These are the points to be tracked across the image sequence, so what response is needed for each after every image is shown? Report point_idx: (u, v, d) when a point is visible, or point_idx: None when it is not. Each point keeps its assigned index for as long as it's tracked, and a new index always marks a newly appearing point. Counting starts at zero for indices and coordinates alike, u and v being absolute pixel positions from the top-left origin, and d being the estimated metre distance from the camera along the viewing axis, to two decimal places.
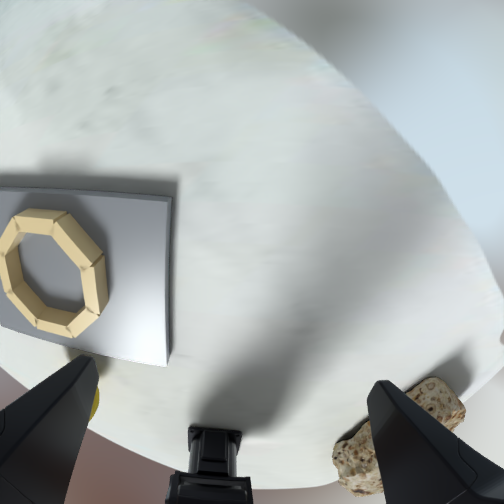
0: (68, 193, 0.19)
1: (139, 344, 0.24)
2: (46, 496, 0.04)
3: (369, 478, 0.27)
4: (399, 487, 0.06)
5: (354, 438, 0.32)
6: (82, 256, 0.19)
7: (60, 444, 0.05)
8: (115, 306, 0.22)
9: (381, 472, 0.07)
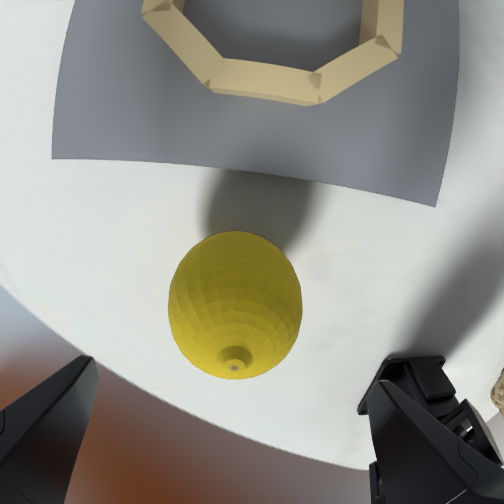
0: None
1: (410, 154, 0.13)
2: (46, 496, 0.04)
3: None
4: (399, 487, 0.06)
5: None
6: None
7: (60, 444, 0.05)
8: (390, 73, 0.11)
9: (381, 472, 0.07)
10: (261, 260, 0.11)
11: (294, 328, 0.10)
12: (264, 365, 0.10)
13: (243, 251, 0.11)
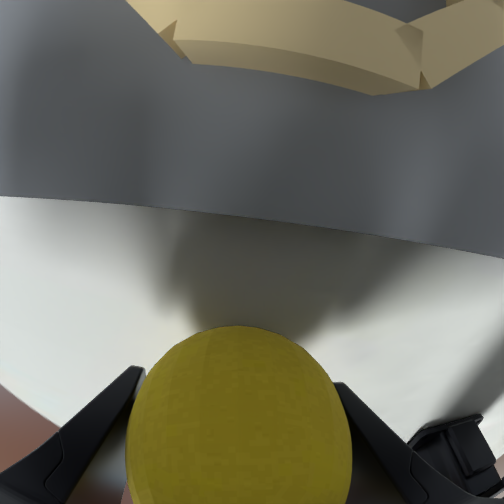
0: None
1: None
2: None
3: None
4: (349, 498, 0.06)
5: None
6: None
7: (117, 462, 0.05)
8: (489, 57, 0.05)
9: None
10: (291, 431, 0.04)
11: None
12: None
13: (255, 413, 0.05)
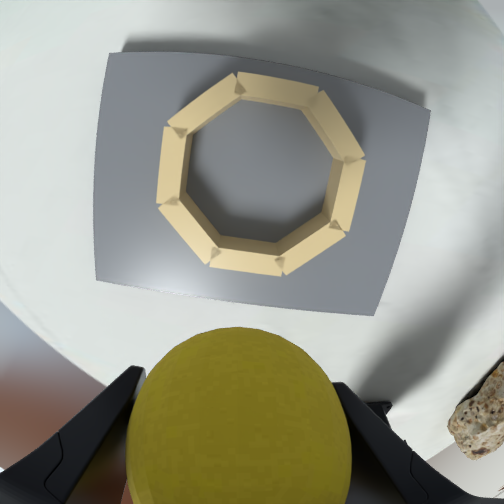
0: None
1: (354, 285, 0.20)
2: None
3: (499, 430, 0.22)
4: (349, 498, 0.06)
5: (480, 393, 0.27)
6: (352, 143, 0.14)
7: (117, 462, 0.05)
8: None
9: None
10: (291, 432, 0.04)
11: None
12: None
13: (254, 415, 0.05)
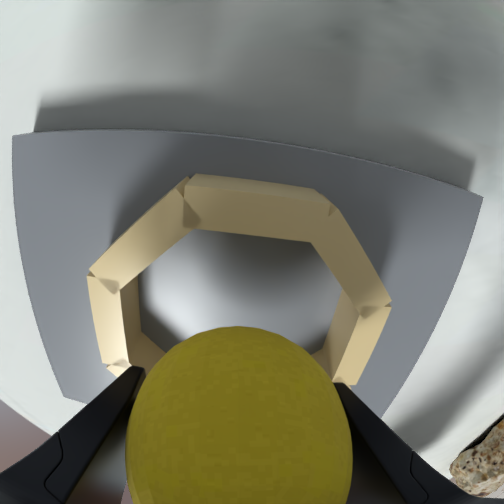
0: (320, 151, 0.10)
1: None
2: None
3: (499, 479, 0.18)
4: (349, 498, 0.06)
5: (484, 444, 0.22)
6: (376, 287, 0.09)
7: (117, 462, 0.05)
8: None
9: None
10: (292, 431, 0.04)
11: None
12: None
13: (255, 414, 0.05)
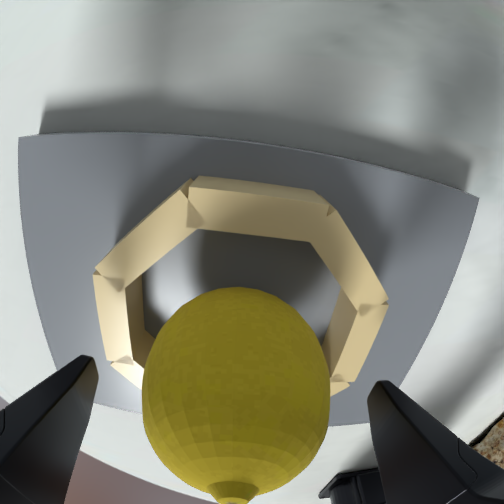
0: (319, 154, 0.10)
1: (356, 403, 0.15)
2: (46, 496, 0.04)
3: None
4: (399, 487, 0.06)
5: (484, 443, 0.22)
6: (373, 286, 0.10)
7: (60, 444, 0.05)
8: None
9: (381, 472, 0.07)
10: (276, 352, 0.06)
11: (320, 442, 0.06)
12: (274, 488, 0.06)
13: (248, 337, 0.07)
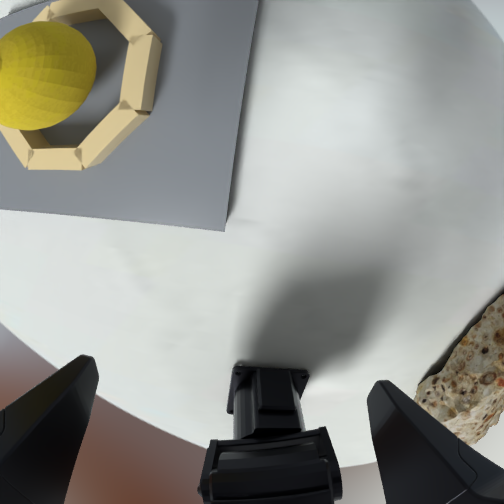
0: None
1: (186, 188, 0.16)
2: (46, 496, 0.04)
3: (474, 417, 0.19)
4: (399, 487, 0.06)
5: (446, 367, 0.24)
6: (138, 23, 0.11)
7: (60, 444, 0.05)
8: (160, 119, 0.15)
9: (381, 472, 0.07)
10: (46, 21, 0.08)
11: (46, 49, 0.07)
12: (10, 75, 0.07)
13: None
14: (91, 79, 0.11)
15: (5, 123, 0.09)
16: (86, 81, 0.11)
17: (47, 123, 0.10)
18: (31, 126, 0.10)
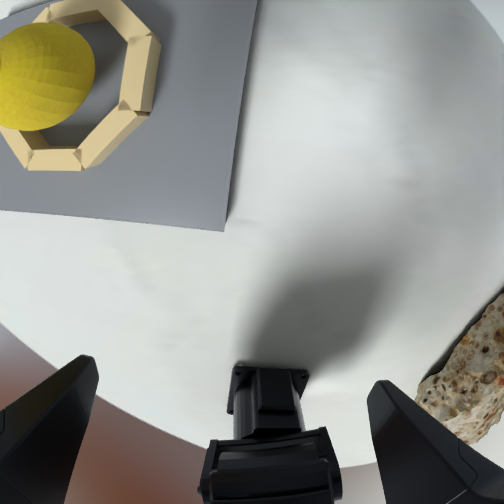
0: None
1: (185, 188, 0.16)
2: (46, 496, 0.04)
3: (474, 416, 0.19)
4: (399, 487, 0.06)
5: (447, 367, 0.24)
6: (137, 25, 0.11)
7: (60, 444, 0.05)
8: (160, 120, 0.15)
9: (381, 472, 0.07)
10: None
11: (45, 50, 0.07)
12: (10, 76, 0.07)
13: None
14: (90, 80, 0.11)
15: (4, 123, 0.09)
16: (85, 82, 0.11)
17: (46, 124, 0.10)
18: (30, 127, 0.10)
